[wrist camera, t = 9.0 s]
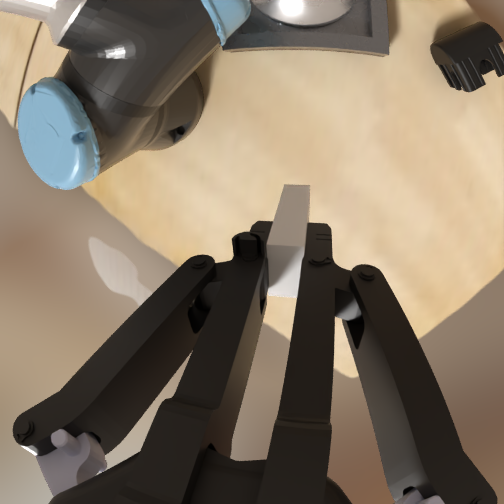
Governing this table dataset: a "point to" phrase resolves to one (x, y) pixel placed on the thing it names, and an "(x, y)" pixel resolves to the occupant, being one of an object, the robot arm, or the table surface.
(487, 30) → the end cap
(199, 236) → the table surface
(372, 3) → the housing
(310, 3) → the dial
